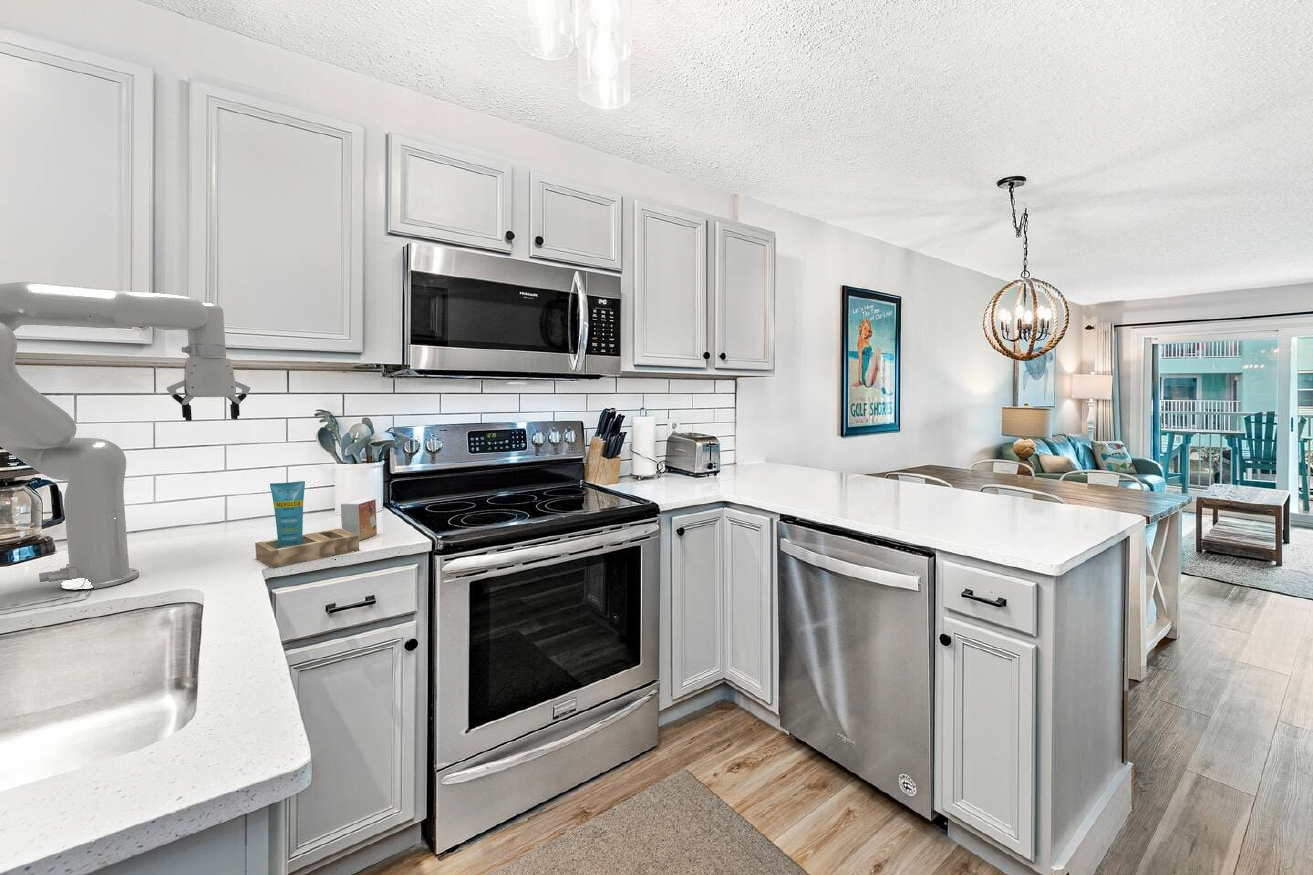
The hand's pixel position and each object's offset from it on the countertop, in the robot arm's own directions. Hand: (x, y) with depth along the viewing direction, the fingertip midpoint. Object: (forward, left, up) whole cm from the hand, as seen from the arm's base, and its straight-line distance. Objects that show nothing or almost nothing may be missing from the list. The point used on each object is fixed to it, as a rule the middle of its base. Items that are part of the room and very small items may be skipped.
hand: (212, 419), depth 153 cm
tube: (+10, -21, -34) cm, 42 cm away
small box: (+30, -13, -35) cm, 48 cm away
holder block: (+14, -21, -34) cm, 43 cm away
